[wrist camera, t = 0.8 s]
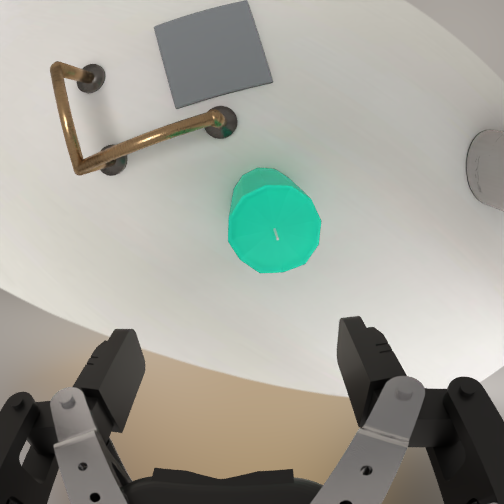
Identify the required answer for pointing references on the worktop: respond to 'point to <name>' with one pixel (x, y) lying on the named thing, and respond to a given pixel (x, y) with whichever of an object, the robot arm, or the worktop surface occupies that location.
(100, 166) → the handrail
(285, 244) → the candle
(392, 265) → the worktop surface
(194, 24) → the coaster
